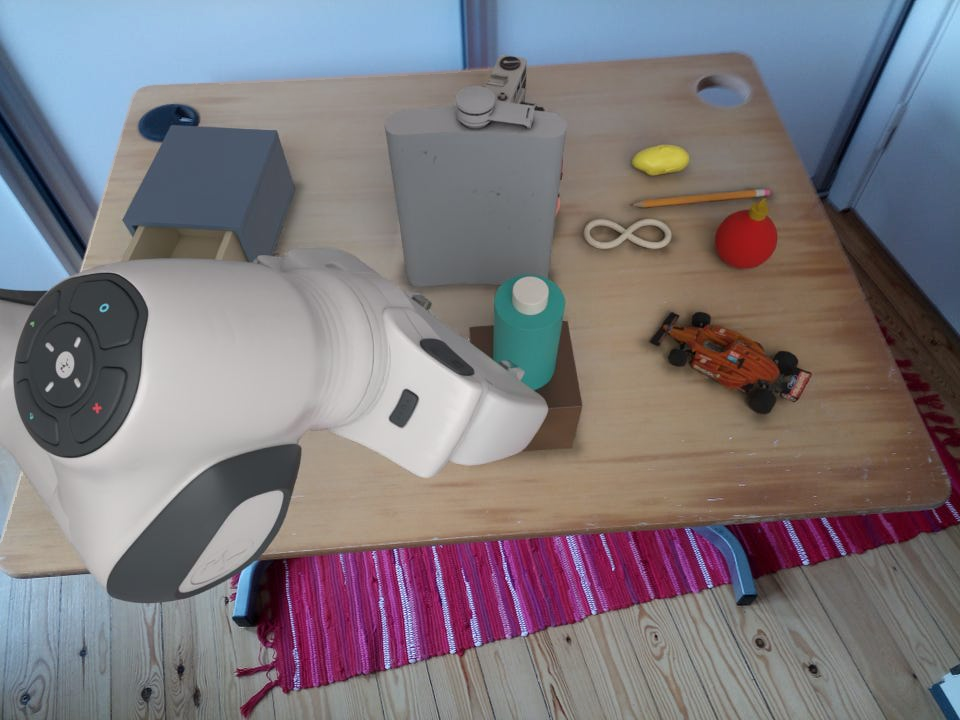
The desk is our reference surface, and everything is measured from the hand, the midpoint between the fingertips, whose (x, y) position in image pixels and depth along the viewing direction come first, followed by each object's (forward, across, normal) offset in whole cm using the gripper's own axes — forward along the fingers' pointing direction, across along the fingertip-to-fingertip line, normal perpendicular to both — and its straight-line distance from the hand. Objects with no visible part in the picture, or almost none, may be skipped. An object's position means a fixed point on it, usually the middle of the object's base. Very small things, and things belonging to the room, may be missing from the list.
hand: (466, 339), depth 51 cm
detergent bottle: (+15, 0, -4) cm, 15 cm away
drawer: (+10, -38, -20) cm, 44 cm away
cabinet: (+17, -46, -14) cm, 51 cm away
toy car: (+36, +13, +4) cm, 38 cm away
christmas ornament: (+46, +6, +14) cm, 48 cm away
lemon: (+51, -11, +19) cm, 56 cm away
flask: (+29, -17, -2) cm, 34 cm away
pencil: (+50, -3, +18) cm, 53 cm away
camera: (+44, -29, +12) cm, 54 cm away
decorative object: (+41, -6, +10) cm, 43 cm away
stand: (+21, 0, -10) cm, 23 cm away
